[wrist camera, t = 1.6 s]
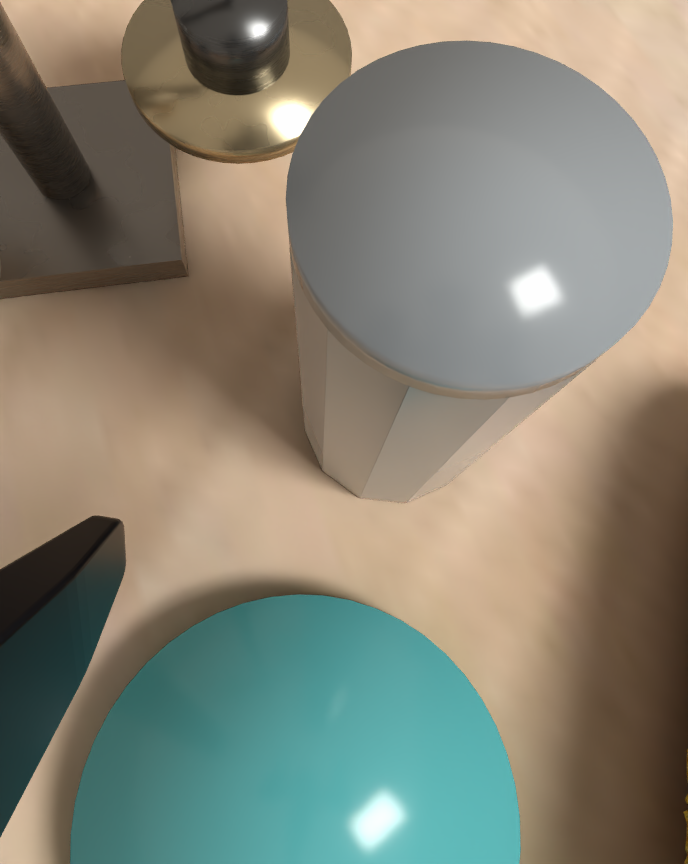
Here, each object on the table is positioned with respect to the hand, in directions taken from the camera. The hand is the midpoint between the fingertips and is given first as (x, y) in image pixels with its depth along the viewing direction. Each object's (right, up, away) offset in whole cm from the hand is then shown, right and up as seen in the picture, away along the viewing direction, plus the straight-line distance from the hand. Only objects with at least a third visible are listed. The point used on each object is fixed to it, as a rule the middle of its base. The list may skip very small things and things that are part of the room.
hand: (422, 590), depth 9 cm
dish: (-2, -9, +10) cm, 14 cm away
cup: (+1, +3, +13) cm, 14 cm away
